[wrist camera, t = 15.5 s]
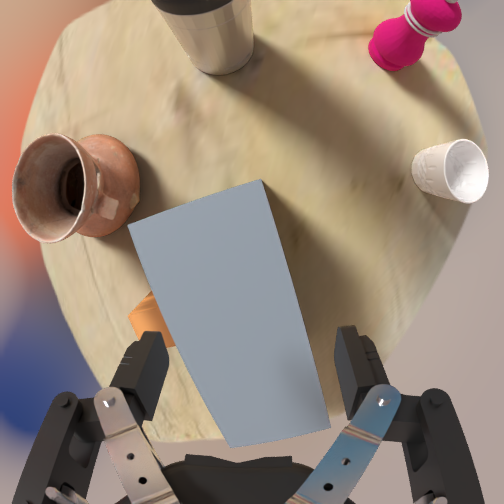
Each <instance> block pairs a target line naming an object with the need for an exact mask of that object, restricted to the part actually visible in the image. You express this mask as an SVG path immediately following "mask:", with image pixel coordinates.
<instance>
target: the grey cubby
mask: <svg viewBox="0 0 504 504" xmlns="http://www.w3.org/2000/svg"><path fill="white" fill-rule="evenodd" d="M128 228H129V231H130V234H131V237H132V240H133V243H134V245H135V248H136V251H137V254H138V256H139V259H140V262H141V264H142V267H143V269H144V272H145V275H146V277H147V280H148V282H149V285H150V287H151V290H152V292H153V295H154V297H155V299H156V302H157V304H158V306H159V309H160V311H161V313H162V316H163V318H164V320H165V323H166V325H167V327H168V329H169V332H170V334H171V336H172V338H173V340H174V342H175V345H176V347H177V349H178V351H179V353H180V355H181V357H182V359H183V361H184V363H185V365H186V368H187V370H188V372H189V374H190V376H191V378H192V379H193V381H194V383H195V385H196V387H197V389H198V391H199V393H200V395H201V397H202V399H203V401H204V402H205V404H206V406H207V408H208V410H209V412H210V413H211V415H212V417H213V419H214V421H215V422H216V424H217V426H218V428H219V429H220V431H221V433H222V435H223V436H224V438H225V440H226V441H227V443H228V445H229V446H230V448H234V447H241V446H248V445H254V444H261V443H265V442H272V441H277V440H281V439H286V438H291V437H296V436H300V435H304V434H308V433H312V432H316V431H320V430H324V429H328V428H331V425H330V421H329V417H328V413H327V409H326V405H325V401H324V397H323V393H322V389H321V385H320V381H319V377H318V373H317V369H316V365H315V362H314V358H313V354H312V350H311V346H310V343H309V339H308V335H307V332H306V328H305V324H304V321H303V317H302V314H301V310H300V306H299V303H298V299H297V296H296V292H295V289H294V285H293V282H292V278H291V275H290V272H289V268H288V265H287V261H286V258H285V255H284V251H283V248H282V244H281V241H280V238H279V234H278V231H277V228H276V224H275V221H274V218H273V215H272V211H271V208H270V205H269V202H268V198H267V195H266V192H265V189H264V186H263V183H262V180H261V179H259V180H255V181H252V182H249V183H246V184H243V185H239V186H236V187H233V188H230V189H227V190H224V191H221V192H218V193H215V194H212V195H209V196H206V197H203V198H200V199H197V200H194V201H191V202H188V203H186V204H183V205H180V206H177V207H174V208H172V209H169V210H166V211H163V212H161V213H158V214H155V215H153V216H150V217H147V218H145V219H142V220H139V221H137V222H134V223H131V224H129V225H128Z"/></svg>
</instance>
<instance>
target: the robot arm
mask: <svg viewBox="0 0 504 504" xmlns="http://www.w3.org/2000/svg"><path fill="white" fill-rule="evenodd" d="M151 1H152V2H153V3H154V5H155V6H156V8H157V9H158V11H159V12H160V14H161V15H162V16H163V18H164V19H165V21H166V22H167V24H168V25H169V27H170V29H171V30H172V32H173V33H174V35H175V36H176V38H177V39H178V41H179V42H180V44H181V46H182V47H183V49H184V50H185V52H186V54H187V55H188V57H189V58H190V60H191V61H192V63H193V64H194V65H195V67H196V68H198V69H199V70H201V71H203V72H205V73H208V74H213V75H223V74H229V73H232V72H235V71H236V70H238V69H240V68H241V67H243V66H244V65H245V64H246V63H247V62H248V61H249V59H250V58H251V56H252V54H253V49H254V42H253V25H252V12H251V0H151ZM334 361H335V366H336V370H337V375H338V379H339V383H340V388H341V392H342V396H343V401H344V405H345V410H346V415H347V419H348V420H351V422H350V423H349V425H348V426H347V427H345V428H344V429H343V430H342V432H341V433H340V434H339V436H338V437H337V439H336V440H335V442H334V443H333V445H332V446H331V448H330V449H329V450H328V452H327V453H326V455H325V456H324V457H323V459H322V460H321V461H320V463H319V464H318V465H317V467H316V468H315V469H312V468H310V467H308V466H305V465H303V464H299V463H294V462H292V456H285V457H264V458H259V459H255V460H250V461H246V462H241V463H235V462H231V461H227V460H223V459H219V458H216V457H212V456H202V455H190V454H186V456H185V461H179V462H175V463H172V464H170V465H168V466H164V464H163V463H162V461H161V460H160V458H159V457H158V455H157V453H156V451H155V450H154V448H153V446H152V444H151V442H150V440H149V439H148V437H147V435H146V433H145V431H144V429H143V427H142V424H143V421H144V420H148V421H152V420H153V416H154V413H155V409H156V406H157V403H158V400H159V396H160V393H161V390H162V386H163V383H164V380H165V377H166V374H167V371H168V367H169V355H168V352H167V349H166V346H165V342H164V339H163V336H162V333H161V332H160V331H144V332H143V334H142V336H141V338H140V341H134V342H133V343H132V344H131V345H130V346H129V347H128V348H127V350H126V352H125V354H124V358H122V360H121V362H120V363H121V364H119V367H118V369H117V371H116V373H115V375H114V377H113V380H112V382H111V384H110V386H109V387H107V388H104V389H102V390H100V391H99V392H98V393H97V394H96V396H95V397H94V398H87V399H78V398H77V397H76V395H75V394H74V393H72V392H63V393H60V394H58V395H57V396H56V397H55V398H54V400H53V401H52V404H51V406H50V408H49V410H48V412H47V414H46V416H45V419H44V421H43V423H42V425H41V428H40V430H39V432H38V435H37V437H36V439H35V442H34V444H33V446H32V449H31V452H30V454H29V456H28V459H27V461H26V464H25V467H24V469H23V472H22V475H21V478H20V480H19V483H18V486H17V489H16V492H15V495H14V498H13V501H12V504H89V503H88V501H87V500H86V496H87V492H88V488H89V484H90V480H91V477H92V473H93V469H94V466H95V462H96V459H97V455H98V452H99V448H100V445H101V442H102V441H104V442H105V445H106V448H107V450H108V453H109V455H110V458H111V460H112V462H113V465H114V467H115V469H116V472H117V474H118V476H119V478H120V480H121V483H122V485H123V487H124V489H125V491H126V493H127V495H126V496H125V497H124V498H122V499H121V500H120V501H118V502H117V503H115V504H355V503H354V502H353V501H352V500H350V499H349V498H348V496H349V495H350V493H351V492H352V490H353V489H354V487H355V486H356V484H357V482H358V481H359V479H360V478H361V476H362V475H363V473H364V471H365V470H366V468H367V466H368V465H369V463H370V461H371V459H372V458H373V456H374V454H375V452H376V450H377V449H378V447H379V445H380V443H381V441H394V442H402V447H403V451H404V456H405V461H406V465H407V470H408V475H409V481H410V486H411V492H412V497H413V503H414V504H485V503H484V499H483V495H482V491H481V487H480V483H479V480H478V476H477V473H476V469H475V467H474V463H473V460H472V457H471V453H470V451H469V447H468V444H467V442H466V439H465V436H464V433H463V430H462V428H461V425H460V423H459V420H458V417H457V414H456V412H455V409H454V407H453V404H452V402H451V399H450V397H449V395H448V394H447V393H446V392H444V391H443V390H440V389H435V388H433V389H429V390H426V391H425V392H424V393H423V394H422V396H409V395H403V394H400V393H399V391H398V390H397V389H396V388H395V387H393V386H391V385H390V383H389V381H388V378H387V375H386V373H385V370H384V367H383V365H382V362H381V360H380V357H379V355H378V353H377V350H376V347H375V345H374V342H373V341H372V340H371V339H369V338H368V337H367V336H366V335H365V336H359V335H358V332H357V329H356V327H355V326H354V325H352V326H341V327H338V329H337V336H336V343H335V350H334Z"/></svg>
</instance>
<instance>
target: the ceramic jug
mask: <svg viewBox="0 0 504 504" xmlns="http://www.w3.org/2000/svg"><path fill="white" fill-rule="evenodd" d="M139 190H140V178H139V171H138V167H137V164H136V161H135V159H134V157H133V155H132V153H131V152H130V150H129V149H128V148H127V147H126V146H125V145H124V144H123V143H122V142H121V141H119V140H118V139H116V138H114V137H111V136H108V135H102V134H97V135H91V136H87V137H85V138H82V139H81V140H79V141H77V142H76V141H74V140H73V139H71V138H69V137H67V136H65V135H62V134H57V133H50V134H46V135H43V136H41V137H39V138H37V139H35V140H34V141H33V142H32V143H30V144H29V145H28V147H27V148H26V149H25V150H24V151H23V153H22V155H21V156H20V158H19V161H18V164H17V166H16V168H15V172H14V176H13V182H12V198H13V205H14V209H15V212H16V215H17V218H18V220H19V221H20V223H21V224H22V226H23V228H24V230H25V231H26V232H27V233H28V234H29V235H30V236H31V237H33V238H34V239H36V240H38V241H40V242H43V243H56V242H59V241H62V240H64V239H66V238H68V237H69V236H71V235H72V234H74V233H75V232H77V233H79V234H82V235H84V236H88V237H101V236H105V235H108V234H111V233H112V232H114V231H116V230H117V229H118V228H120V227H121V226H122V225H123V224H124V223H125V222H126V220H127V219H128V218H129V216H130V215H131V213H132V211H133V209H134V208H135V206H136V205H137V203H138V202H139V201H140V199H139Z"/></svg>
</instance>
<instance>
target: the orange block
mask: <svg viewBox="0 0 504 504" xmlns="http://www.w3.org/2000/svg"><path fill="white" fill-rule="evenodd" d="M128 318H129V320H130V322H131V324H132V326H133V329H134V331H135V333H136V335H137V337H138V339H139V341H140V338H141V336H142V334H143V332H144V331H160V332H161V333H162V336H163V339H164V342H165V346H166V348H168V347H173V346H176V345H175V342H174V340H173V338H172V336H171V334H170V332H169V329H168V327H167V325H166V323H165V320H164V318H163V316H162V313H161V311H160V309H159V306H158V304H157V302H156V299H155V297H154V295H153V292H152V291H151V292H150V293H149V294H148V295H147V296H146V297H145V298H144V299H143V300H142V301H141V302H140V303H139V305H138V306H137V307H136V308H135V309H134V310H133V311H132V312H131V313H130V314H129V315H128Z"/></svg>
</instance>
